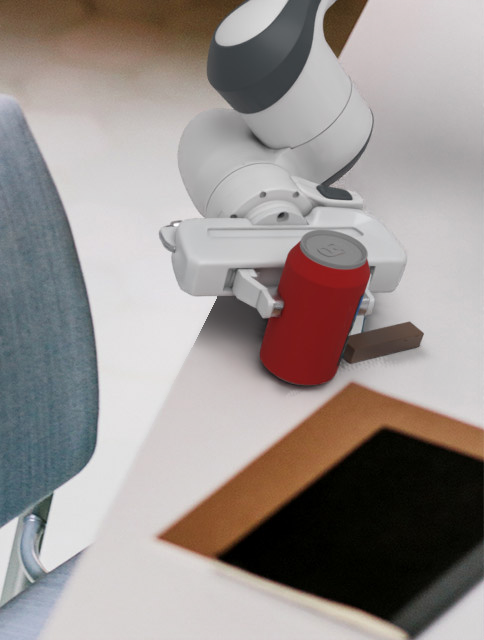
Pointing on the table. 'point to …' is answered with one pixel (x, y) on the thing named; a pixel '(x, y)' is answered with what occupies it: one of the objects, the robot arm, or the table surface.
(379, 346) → the walnut stick
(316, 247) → the beverage can
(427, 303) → the table surface
